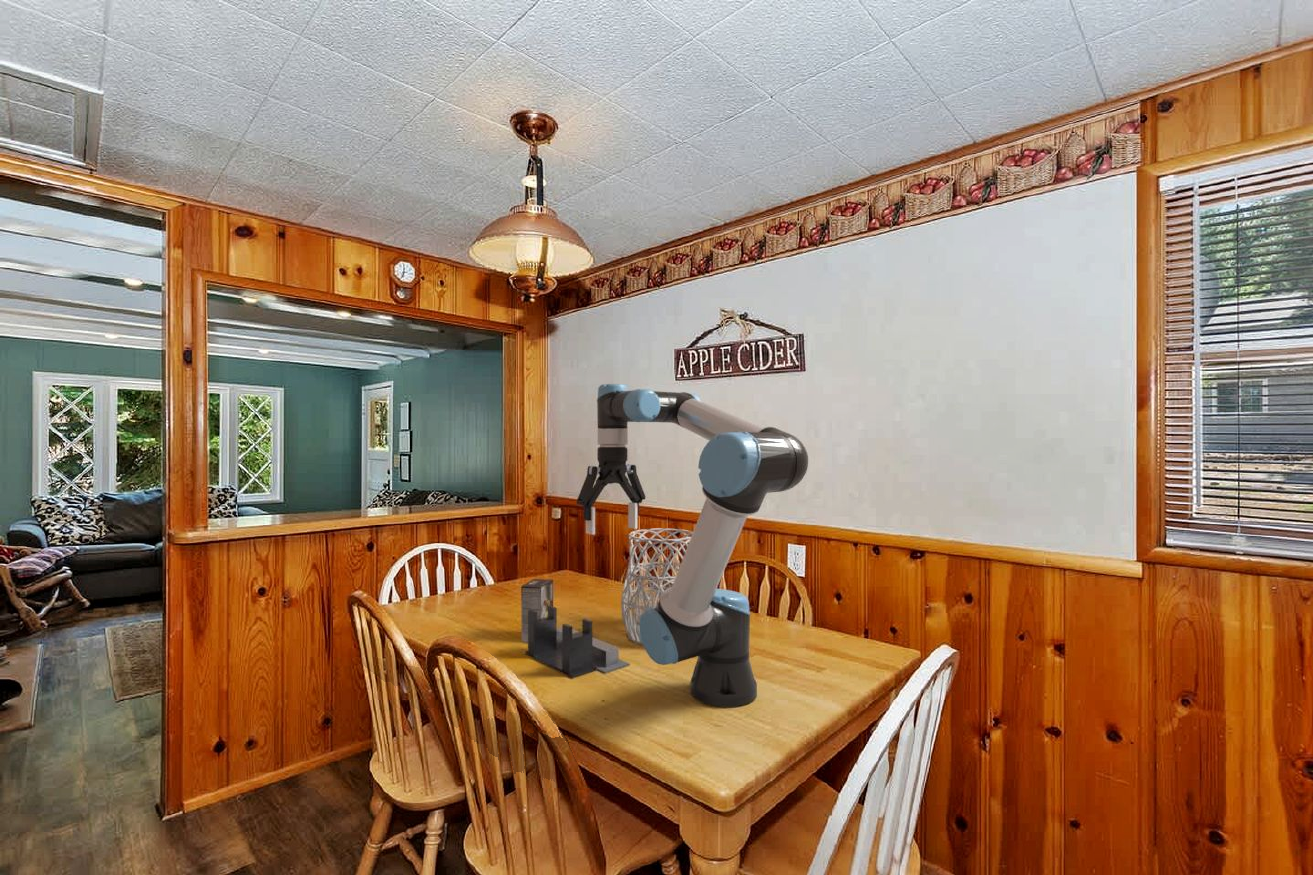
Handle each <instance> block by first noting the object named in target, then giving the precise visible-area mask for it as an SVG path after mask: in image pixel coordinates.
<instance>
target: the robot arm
mask: <svg viewBox="0 0 1313 875" xmlns="http://www.w3.org/2000/svg"><path fill="white" fill-rule="evenodd" d="M596 403H597V404H596V409H597V413H596V414H597V445H599V446H598V447H597V450H596V451H597V453H596V454H597V455H596V456H597V459H596V460H597V461H598V466H596V465H595V466H594V465H589V466H587V472H586V477H585V480H584V482H583V484H582V487H581V490H580V491H579V495H578V496H577V499H576V505H579V506H581V507H583V520H584V521H585V534H588V535H593V536H595V535H596V507H595V506H594V504H595V502H596V501H597V499H598V498H599V496H600V495H601V493H602V491H603V490H604V488H605V487H606V486H608V484H609V485H612V484H618V485H620V488H621V489H622V490H623V491H624V493H625V494H626V496H627V497H628V499H629V500H630V502H628V507H627V509H628V511H627V512H628V513H627V514H628V515H627V517H628V519H627V520H628V521H627V523H628V524H627V526H628V528H629V529H634V530H636V529H637V530H638V516H639V514H640V504H641V503H642V502H643V500H645V499H646V495H645V492H644V490H643V489H644V488H643V487H642V484H641V482H640V479H639V476H638V474H637V465H636V464H627V463H626V462H627V461H628V447H627V445H628V443H629V442H628V423H671V424H676V425H677V426H679V427H681V428H683V429H685V430H688V431H690V432H692V433H694V434H696V435H698V436H700V437H702V438H703V439H706V440H707V441H708V442H707V443H706V445H705V446H704V447H703V448H702V450H701V452H700V456H699V460H698V467H697V468H698V469H699V470H700V472H698V479H699V480H700V483H701V486H702V487H701V489H702V490H701V491H702V493H703V495H704V497H705V501H704V504H703V506H702V509H701V511H700V514H699V517H698V519H697V522H696V525H695V527H694V529H693V531H692V532H693V534H692V535H691V536H690V537H691V539H690V542H688V543H687V544H688V547H687V546H686V549H687V550H686V549H685V550H686V552H685V553H684V554H683V560H682V559H681V562H680V563H681V565H680V568H679V567H678V569H679V570H678V571H677V572H676V578H675V581H674V583H673V586H672V587H670V588H668V589H664V592H663V593H662V592H661V593H662V594H661V597H660V598H658V605H657V607H656V608H650V609H648V610H646V611H644V612H643V613H642V612H641V614H642V615H641V618H640V623H639V622H638V625H639V628H640V636H641V640H642V643H643V645H642V646H643V648H644V650H645V653H647V655H648V657H649V658H650V659H651V660H652V661H653V662H654V663H656V664H658V665H661V666H666V665H674V664H677V663H679V662H683V661H686V660H690V659H693V658H696V657H697V660H696V663H695V666H694V669H693V673H692V677H691V678H690V683H689V686H690V687H689V688H690V690H689V692H690V695H691V696H692V697H693V699H695V700H697V701H698V702H700V703H703V704H706V705H709V706H713V707H720V708H721V707H722V708H730V707H731V708H733V707H740V706H745V705H747V704H751V702H754V701H755V700H756V698H757V697H758V685H757V684H758V683H757V681H756V678H755V676H754V672H753V668H752V665H751V662H750V628H751V627H750V624H751V623H750V622H751V617H750V616H751V613H750V602H749V599H748V597H747V596H746V595H744V594H743V593H741V592H738V591H734V590H730V589H723V588H718V587H719V583H720V582H721V580H722V576H723V575H724V573H725V571H726V570H725V569H726V568H727V565H728V563H729V560H730V558H731V557H732V556H731V555H732V554H733V551H734V549H735V546H736V544H737V543H738V539H739V538H740V534H741V533H742V530H743V528H744V526H745V524H746V520H747V518H748V517H749V516H752V515H755V514H757V513H758V512H759V510H760V508H761V506H762V504H763V502H764V499H765V497H766V495H767V494H768V493H769V494H771V493H780V492H781V493H782V492H785V491H789V490H791V489H793V488H794V487H795V486H797V485H798V484H800V483H801V482H802V480H803V479H804V477H805V476H806V474H807V471H808V468H809V455H808V451H807V448H806V447H805V446H804V444H803V442H802V441H801V440H800V439H798V437H797V436H795V435H793V434H791V433H789V432H786V431H784V430H781V429H778V428H776V427H773V426H766V427H761V426H758V425H756V424H755V423H752V422H749V421H747V420H745V419H743V418H740V417H738V416H736V415H733V414H731V413H728V412H726V411H723V410H721V409H719V408H717V407H715V406H712V405H710V404H707V403H705V402H704V401H702V400H701V399H700V398H699V395H696V394H695V393H689V392H686V391H685V392H684V391H683V392H682V391H681V392H675V391H673V392H671V391H656V390H651V389H646V388H635V389H633V390H628V386H627V384H621V383H607V384H606V383H605V384H600V385H599V386H598V388H597V398H596ZM626 475H627V476H626ZM597 476H598V477H597Z"/></svg>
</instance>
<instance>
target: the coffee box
mask: <svg viewBox="0 0 1313 875" xmlns="http://www.w3.org/2000/svg"><path fill="white" fill-rule="evenodd" d="M520 587H521V591H520V592H521V594H520V595H521V601H520V602H521V605H520V606H521V607H520V608H521V611H520V613H521V615H520V616H521V620H520V621H521V630H520V631H521V634H520V635H521V642H522V643H528V610H533V611H535V612H537V620H538V619H542V618H546V617H548V606H553V607H554V579H543V578H542V579H541V578H540V579H539V578H534V579H532V580H530V581H528V582H526V583H525V584H522V585H521V586H520Z"/></svg>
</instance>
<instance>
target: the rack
mask: <svg viewBox="0 0 1313 875" xmlns="http://www.w3.org/2000/svg"><path fill="white" fill-rule="evenodd" d="M557 611H558V610H557V607H555V606H554V605H553V606H548V617H546V618H542V619H538V620H537V612H535V611H533V610H528V642H527V650H525V651H524V655H526V656H528V657H530V658H532V659H534V660H536V661H538V662H540V663H541V664H544V665H546V666H548V667H550V668H551V669H553V670H556V671H557V672H559V673H561V674H564V675H565V676H566V677H569V678H571V679H575V678H578V677H582V676H584V675H587V674H590V673H593V672H594V673H595V672H596V671H597V670H596V667H594V666H592V637H593V621H592V620H590V619H588V618H582V619H581V620H582V621H581V622H582V623H581V624H582V625H581V626H582V628H581V629H582V630H580V631H579V632H577V633H574V634H572V629H573V625H570V624H568V623H562V624H561V625H562V626H561V627H562V652H561V651H559V650H557V628H558V627H557V623H558V622H557V619H558V617H557V616H558V615H557Z"/></svg>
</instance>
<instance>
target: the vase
mask: <svg viewBox="0 0 1313 875" xmlns="http://www.w3.org/2000/svg"><path fill="white" fill-rule="evenodd" d="M641 532H643V533H641ZM664 532H666V533H668V534H669V535H667V536H665V538H664V537H662V536H661V535H660V534H661V533H664ZM693 532H694V531H691V530H687V529H678V528H661V527H658V528H657V527H656V528H649V529H645V528H644V529H643V528H642V529H637V530H634V531H631V532H630V533H628V534H627V535H628V541H629V542H628V543H629V561H628V566H627V571H626V574H625V576H626V577H625V580H624V584H623V587H622V588H623V589H622V591H621V592H622V593H621V599H620V600H621V601H620V607H621V608H620V609H621V619H622V622H623V625H624V628H625V631H626V634H627V636H628V639H629V640H631V641H632V642H633V643H635V644H637V645H641V646H643V643H642V640H641V636H640V628H639V623H640V618H641V615H642V613H643V612H644V611H646V610H648V609H650V608H656V607H657V605H658V602H659V599H660V597H661V594H662V593H663V592H664V591H665V590H666V589H668V588H670V587H672V586H673V583H674V581H675V578H676V575H677V572H678V570H679V568H680V565H681V563H682V562H679V561H678V558H677V555H678V556H679V557H680V559H681V561H682V560H683V557H684V555H682V553H681V552H680V551H681V550H682V551H683V554H685V552H686V550H687V547H688V544H689V542H690V539H691V537H692V534H693ZM647 533H651V534H653V535H652V536H650V537H649V538H648V537H647V536H645V535H646V534H647ZM678 533H681V534H682V537H681V538H678V536H677V535H676V534H678ZM686 533H687V534H686ZM636 534H637V535H639V536H638V537H637V536H635V535H636ZM690 535H691V536H690ZM656 536H657V537H658V538H655V537H656ZM671 536H673V538H670V537H671ZM652 541H653V542H652ZM633 542H635V543H633ZM643 542H645V545H644V546H642V545H641V543H643ZM658 543H660V544H659V545H658V546H656V544H658ZM663 544H664V545H665V546H664V547H663V548H662V549H660V548H661V547H662V546H663ZM678 545H680V547H679V548H678V549H677V548H676V547H678ZM684 546H685V547H686V549H685V548H684ZM636 548H638V549H639V550H638V551H639V552H640V554H639V556H637V553H636ZM650 548H653V550H654V551H655V552H654V553H653V555H652V557H651V558H650V556H649V554H648V552H647V551H648V550H649V549H650ZM667 549H668V550H670V552H669V554H668V557H666V556H665V554H664V553H663V552H664V551H665V550H667ZM674 552H675V553H674ZM645 556H646V557H645ZM661 556H662V557H661ZM671 557H672V558H671ZM646 558H647V559H646ZM662 558H663V559H664V561H665V562H664V561H663V560H662ZM658 559H659V561H657V560H658ZM641 560H643V562H641V563H640V561H641ZM647 560H648V561H649V562H647ZM674 560H675V561H674ZM635 561H636V562H635ZM673 561H674V562H673ZM661 566H662V567H661ZM644 567H645V568H644ZM657 569H658V570H660V571H661V572H660V574H658V572H657ZM652 570H653V571H654V574H655V576H653V575H652V574H651V573H650V572H651V571H652ZM668 570H671V572H672V573H673V575H674V576H671V575H670V574H669V572H668ZM676 571H677V572H676ZM642 572H644V573H643V574H642ZM638 573H639V574H638ZM645 581H647V582H645ZM644 582H645V583H644ZM663 582H665V583H664V584H663ZM631 584H632V585H631ZM635 584H636V585H635ZM648 585H649V586H648ZM646 586H647V587H646ZM646 590H647V591H649V592H648V593H647V591H646ZM631 611H632V612H631ZM631 613H632V614H631Z"/></svg>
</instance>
